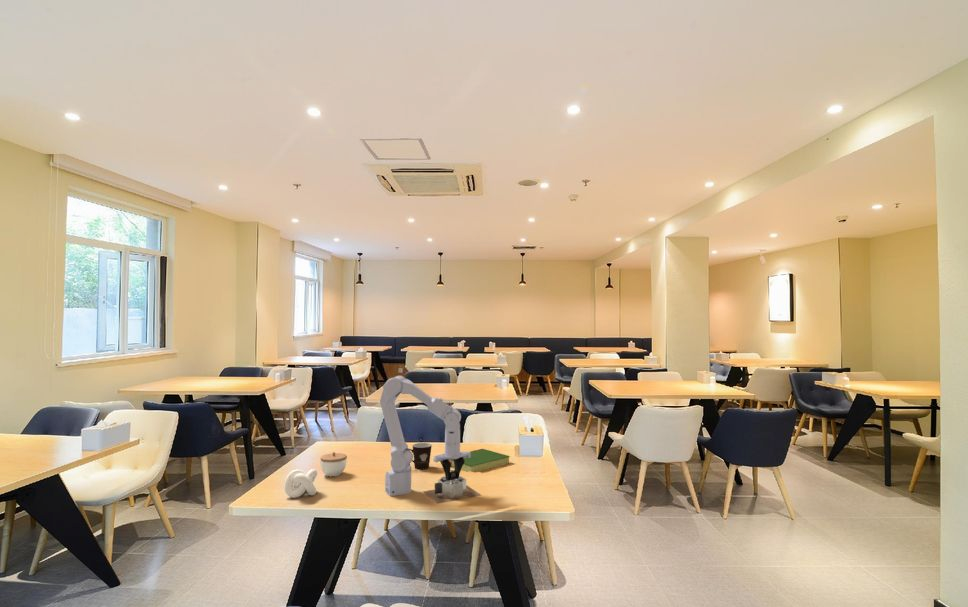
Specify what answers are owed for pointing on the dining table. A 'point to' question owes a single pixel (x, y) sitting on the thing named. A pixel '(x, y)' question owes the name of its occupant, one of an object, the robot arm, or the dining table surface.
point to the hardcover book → (483, 460)
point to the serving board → (439, 499)
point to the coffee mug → (421, 455)
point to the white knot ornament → (300, 483)
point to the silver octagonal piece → (451, 488)
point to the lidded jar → (333, 463)
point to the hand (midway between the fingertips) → (452, 479)
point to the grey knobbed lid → (452, 478)
